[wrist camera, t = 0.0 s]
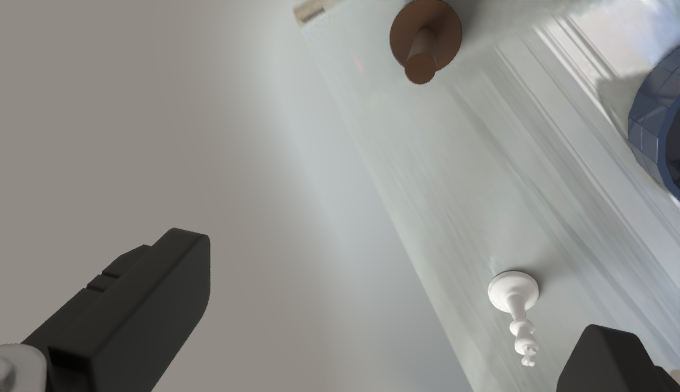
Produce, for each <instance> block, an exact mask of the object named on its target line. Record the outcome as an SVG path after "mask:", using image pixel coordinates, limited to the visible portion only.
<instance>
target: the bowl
mask: <svg viewBox="0 0 680 392" xmlns="http://www.w3.org/2000/svg"><path fill="white" fill-rule="evenodd" d="M628 140H629V144H630V146H631V149H632V151H633V154H634V156H635V159H636V161H637V162H638V163H639V164H640V165H641V166H642V167H643V168H644V169H645V170H646V171H647V172H648V173H649V174H650V175H651V176H652V177H653V178H654V179H655V180H656V181H657V182H659V183H660V184H661V185H662V186H663V187H664V188H665V189H666V190H667V191H668V192H669V193H671V194H672V195H673V196H674V197H675V198H676V199H677V200H678V201H679V202H680V47H679V48H678V49H677V50H675V51H674V52H673V53H672V54H671V55H669V56H668V57H667V58H666V59H664V60H663V61H662V62H661V63H659V64H658V65H657V66H656V67H655V68H654V70H653V71H652V72H651V74H650V75H649V76H648V78H647V79H646V80H645V82H644V83H643V84H642V86H641V87H640V88H639V90H638V92H637V95H636V97H635V100H634V103H633V105H632V108H631V111H630V113H629V117H628Z"/></svg>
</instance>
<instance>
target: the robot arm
mask: <svg viewBox="0 0 680 392" xmlns="http://www.w3.org/2000/svg"><path fill="white" fill-rule="evenodd" d="M209 296H210V239H209V237H208V236H207V235H204V234H200V233H195V232H191V231H187V230H182V229H178V228H172V229H170V230H169V231H167V233H165V234H164V235H163V236H162V237H161V238H160V239H159V240H158V241H157V242H156V243H155V244H154V245H153V246H148V245H142V246H140V247H138V248H136V249H133V250H131V251H129V252H127V253H125V254H123V255H121V256H119V257H118V258H117V259H116V260H114V261H113V262H112V263H111V264H110V265H109V266H108V267H107V268H105V269H104V270H103V271H102V274H101V275H98V276H96V277H95V278H94V279H93V280H92V281H91V282H90V283H88V285H87V287H86V289H85V288H83V289H82V290H81V291H79V292H78V293H77V294H76V295H75V296H74V297H73V298H72V299H70V300H69V301H68V302H67V303H66V304H65V305H64V306H62V307H61V308H60V309H59V310H58V311H57V312H56V313H55V314H53V315H52V316H51V317H50V318H49V319H48V320H47V321H45V323H43V324H42V325H41V326H40V327H39V328H38V329H37V330H35V331H34V332H33V333H32V334H31V335H30V336H28V337H27V338H26V339H25V340H24V341H23V342H21V343H20V344H3V345H0V392H151V391H152V389H153V388H154V387H155V385H156V383H157V382H158V381H159V379H160V378H161V376H162V375H163V373H164V372H165V370H166V369H167V368H168V366H169V365H170V363H171V361H172V360H173V359H174V357H175V356H176V354H177V353H178V352H179V350H180V348H181V347H182V346H183V344H184V343H185V341H186V340H187V338H188V337H189V335H190V334H191V333H192V331H193V329H194V328H195V327H196V325H197V324H198V322H199V321H200V319H201V318H202V316H203V314H204V312H205V310H206V307H207V304H208V301H209ZM556 392H680V385H679V384H678V383H677V382H676V381H675V380H674V379H673V378H672V377H671V376H670V375H669V374H668V373H667V372H666V371H665V370H664V369H663V368H662V367H659V366H655V365H654V364H653V362H652V360H651V359H650V357H649V355H648V353H647V352H646V350H645V348H644V346H643V344H642V343H641V341H640V339H639V338H638V337H637V336H636V335H635V334H633V333H630V332H625V331H621V330H616V329H612V328H608V327H603V326H599V325H594V324H591V325H589V326H587V327H586V328H585V330H584V331H583V333H582V335H581V337H580V339H579V340H578V342H577V344H576V346H575V348H574V350H573V352H572V354H571V356H570V358H569V360H568V361H567V363H566V365H565V367H564V369H563V371H562V373H561V375H560V377H559V380H558V384H557V390H556Z"/></svg>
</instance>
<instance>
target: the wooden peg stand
mask: <svg viewBox="0 0 680 392" xmlns="http://www.w3.org/2000/svg"><path fill="white" fill-rule="evenodd" d="M461 40H462V28H461V23H460V20H459V18H458V16H457V14H456V13H455V11H454V10H453V9H452V7H451V6H449V5H448V4H447V3H446V2H444V1H442V0H415V1H413V2H411V3H409V4H408V5H406V6H405V7H404V8H403V9H402V10H401V11H400V12H399V14H398V15H397V16H396V18H395V20H394V22H393V24H392V27H391V31H390V46H391V50H392V53H393V55H394V57H395V59H396V60H397V61H398V62H399V64H400V65H402V66H403V67H404V68H405V74H406V77H407V78H408V79H409V81H411V82H412V83H414V84H425V83H427V82H429V81H430V80H431V79H432V78H433V77H434V75H435V72H436V71H438V70H440V69H442V68H444V67H445V66H447V65H448V64H449V63H450V62H451V61H452V60H453V59H454V57H455V56H456V54H457V52H458V50H459V48H460V45H461Z"/></svg>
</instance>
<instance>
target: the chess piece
mask: <svg viewBox="0 0 680 392" xmlns="http://www.w3.org/2000/svg"><path fill="white" fill-rule="evenodd" d="M488 295H489V297H490V300H491V302H492V303H493V305H494V306H495V307H497V308H498V309H500V310H502V311H505V312H509V313H511V314H512V316H513V318H514V321H513V322H512V323H511V325H510V330H511V332H512V333H513V334H514V335H515V336H516V340H515V349H516V351H517V352H518V353H520V354H522V355H525V356H524V358H523V359H522V364H524V365H526V366H527V365H529V366H531V367H533V365H534V364H535V362H534V357H535V355H536V354H537V351H538V349H539V344H538V342H537V340H536V339H535V338H534V337H533V336H532V334H533V332H534V324H533V323H532V322H531V321H530V320H528V319H526V315H525V311H526V310H528V309H530V308H531V307H532V306H533V305H534V304H535V303H536V302H537V299H538V296H539V291H538V285H537V283H536V281H535V280H534V279H533V278H532V277H531V276H529V275H528V274H526V273H523V272H518V271H509V272H504V273H501V274H499V275H498V276H496V277H495V278H494V279H493V280H492V281H491V282H490V284H489V287H488Z"/></svg>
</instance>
